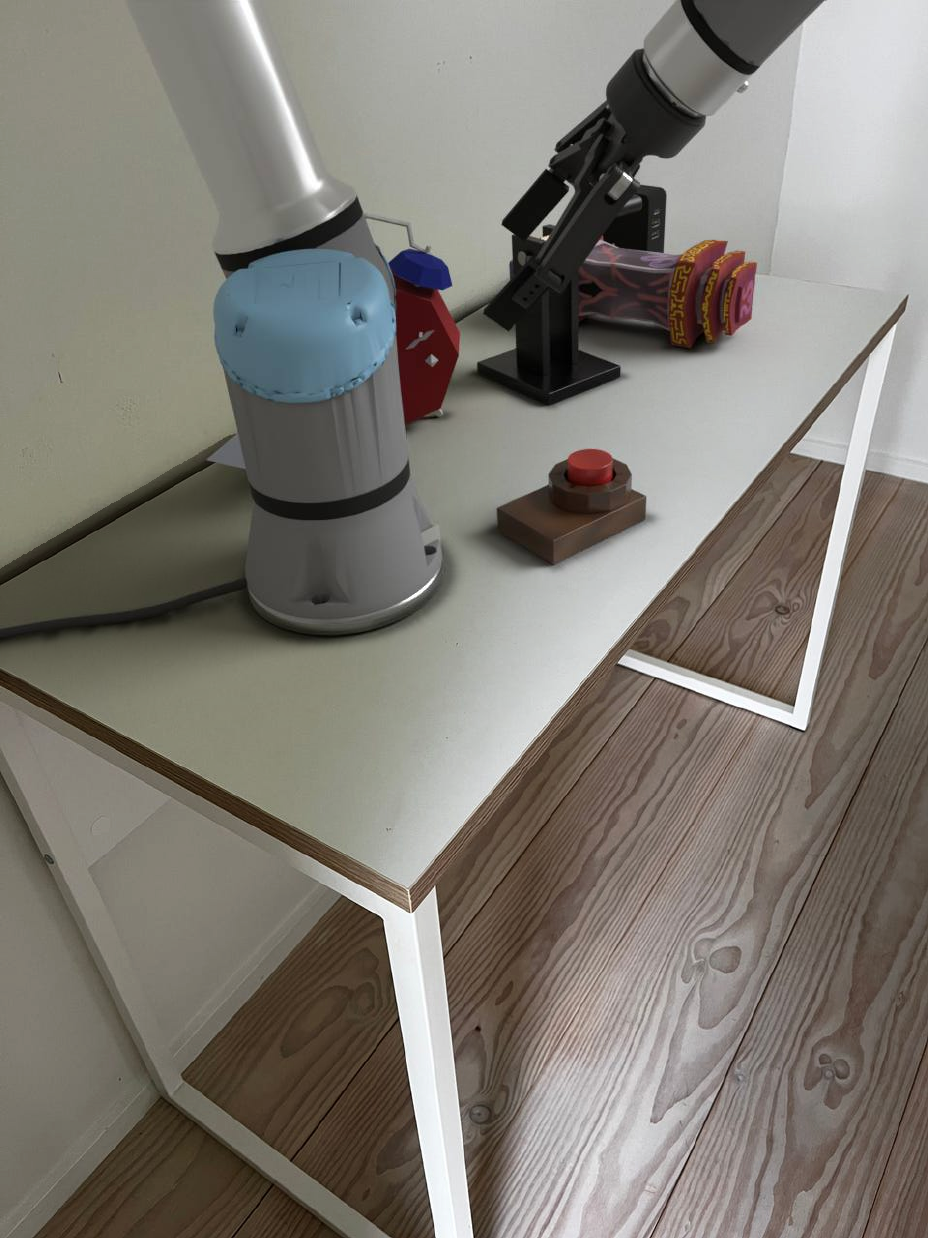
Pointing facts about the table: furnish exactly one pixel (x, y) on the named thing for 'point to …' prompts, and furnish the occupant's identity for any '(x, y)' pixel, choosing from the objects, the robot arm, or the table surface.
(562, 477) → the switch block
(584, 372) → the switch bracket
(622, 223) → the electronic device
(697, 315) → the red patterned flared cylinder
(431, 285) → the alarm clock
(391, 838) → the table surface
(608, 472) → the light button
